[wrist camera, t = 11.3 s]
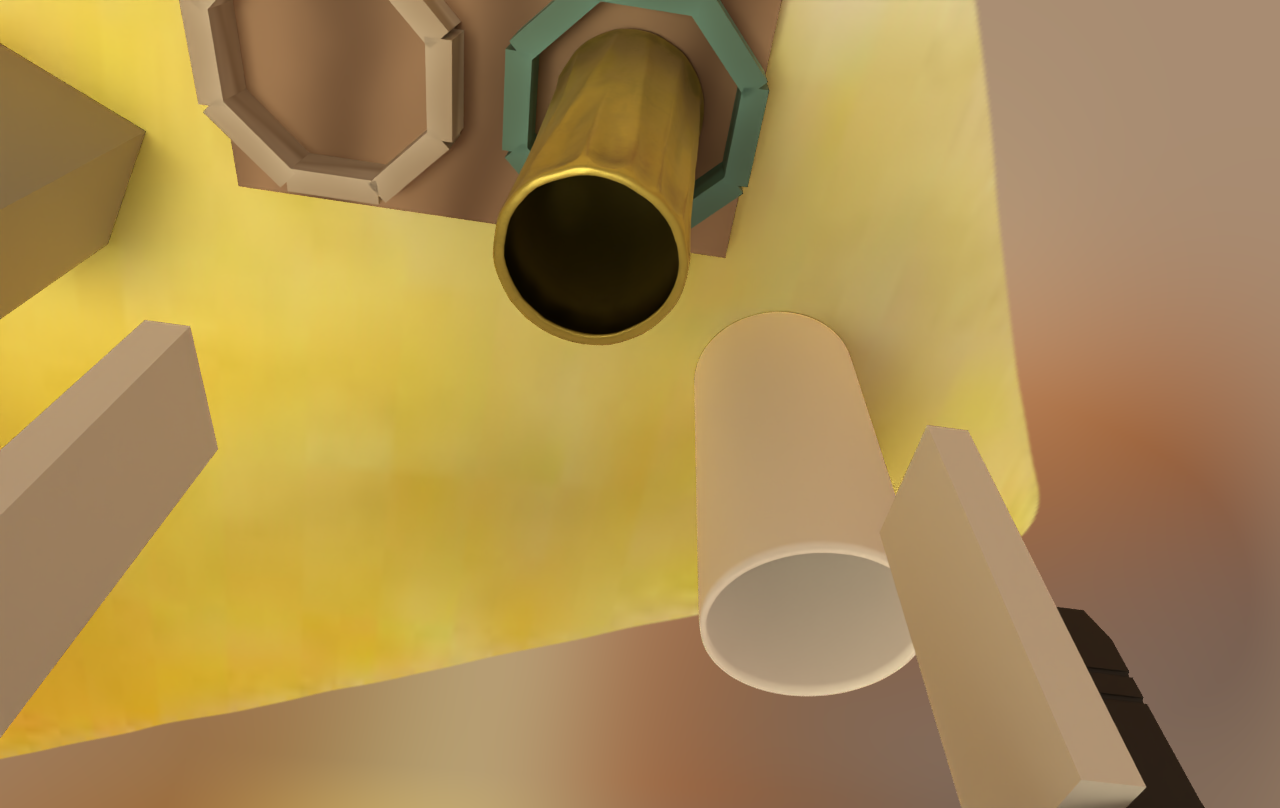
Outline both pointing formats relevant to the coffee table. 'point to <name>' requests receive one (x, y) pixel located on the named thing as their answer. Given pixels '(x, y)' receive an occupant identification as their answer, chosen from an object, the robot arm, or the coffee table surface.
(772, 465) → the cup
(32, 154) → the perfume bottle
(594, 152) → the vase
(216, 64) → the board
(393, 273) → the coffee table surface
